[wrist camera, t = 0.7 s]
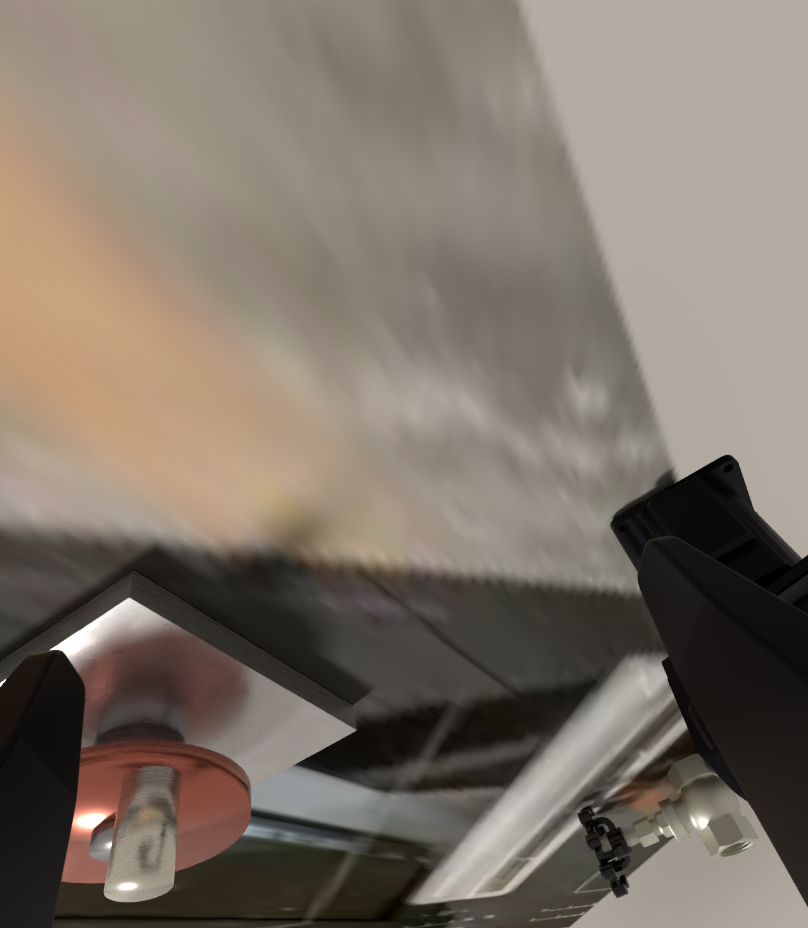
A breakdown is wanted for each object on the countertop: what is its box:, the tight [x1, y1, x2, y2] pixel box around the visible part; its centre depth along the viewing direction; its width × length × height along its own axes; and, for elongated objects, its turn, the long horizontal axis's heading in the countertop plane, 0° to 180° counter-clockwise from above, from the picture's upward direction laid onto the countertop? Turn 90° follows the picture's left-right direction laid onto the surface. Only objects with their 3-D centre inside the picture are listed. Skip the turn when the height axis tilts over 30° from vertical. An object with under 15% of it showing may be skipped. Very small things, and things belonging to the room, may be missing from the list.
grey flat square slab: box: [0, 570, 357, 788], centre depth 30 cm, size 16×16×4 cm
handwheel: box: [61, 740, 251, 902], centre depth 27 cm, size 11×11×5 cm
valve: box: [578, 754, 759, 898], centre depth 49 cm, size 7×7×12 cm
